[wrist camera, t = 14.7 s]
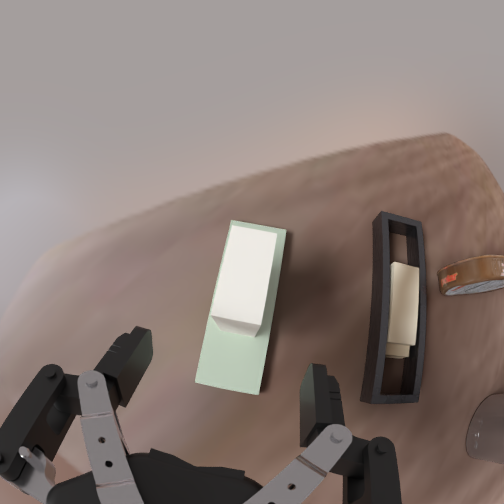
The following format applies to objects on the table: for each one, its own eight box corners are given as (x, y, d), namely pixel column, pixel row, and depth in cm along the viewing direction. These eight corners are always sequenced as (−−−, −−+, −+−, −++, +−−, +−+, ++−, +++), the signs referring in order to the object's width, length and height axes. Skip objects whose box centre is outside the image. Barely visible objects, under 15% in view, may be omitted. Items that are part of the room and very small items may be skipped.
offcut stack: (405, 273, 28) (419, 264, 25) (398, 358, 24) (413, 357, 21) (381, 268, 28) (394, 257, 25) (372, 356, 24) (386, 354, 22)
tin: (493, 274, 28) (532, 252, 20) (497, 295, 27) (537, 275, 19) (423, 276, 28) (468, 247, 20) (427, 302, 26) (475, 279, 19)
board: (284, 234, 29) (286, 229, 28) (257, 393, 23) (258, 394, 22) (231, 224, 29) (231, 220, 28) (196, 381, 23) (194, 382, 22)
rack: (410, 231, 30) (421, 222, 27) (405, 400, 22) (418, 402, 20) (372, 221, 30) (381, 210, 27) (359, 400, 22) (370, 403, 20)
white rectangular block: (266, 274, 26) (277, 233, 18) (254, 337, 24) (260, 325, 16) (234, 267, 26) (232, 225, 18) (220, 330, 24) (210, 314, 16)
